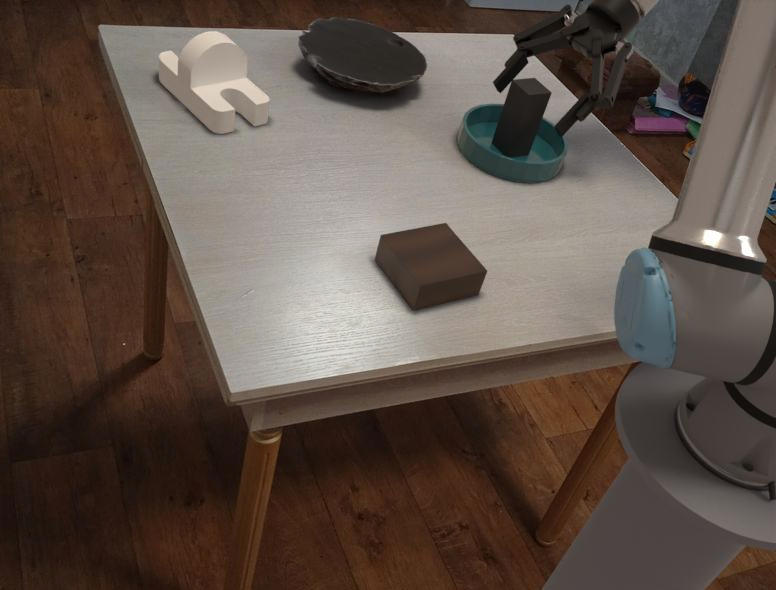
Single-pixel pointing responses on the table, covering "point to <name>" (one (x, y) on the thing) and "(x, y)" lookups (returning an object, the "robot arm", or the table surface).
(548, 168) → the tin
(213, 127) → the slotted bracket
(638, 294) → the robot arm
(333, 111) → the table surface
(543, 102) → the pillar
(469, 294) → the stand
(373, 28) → the dark grey round slab
